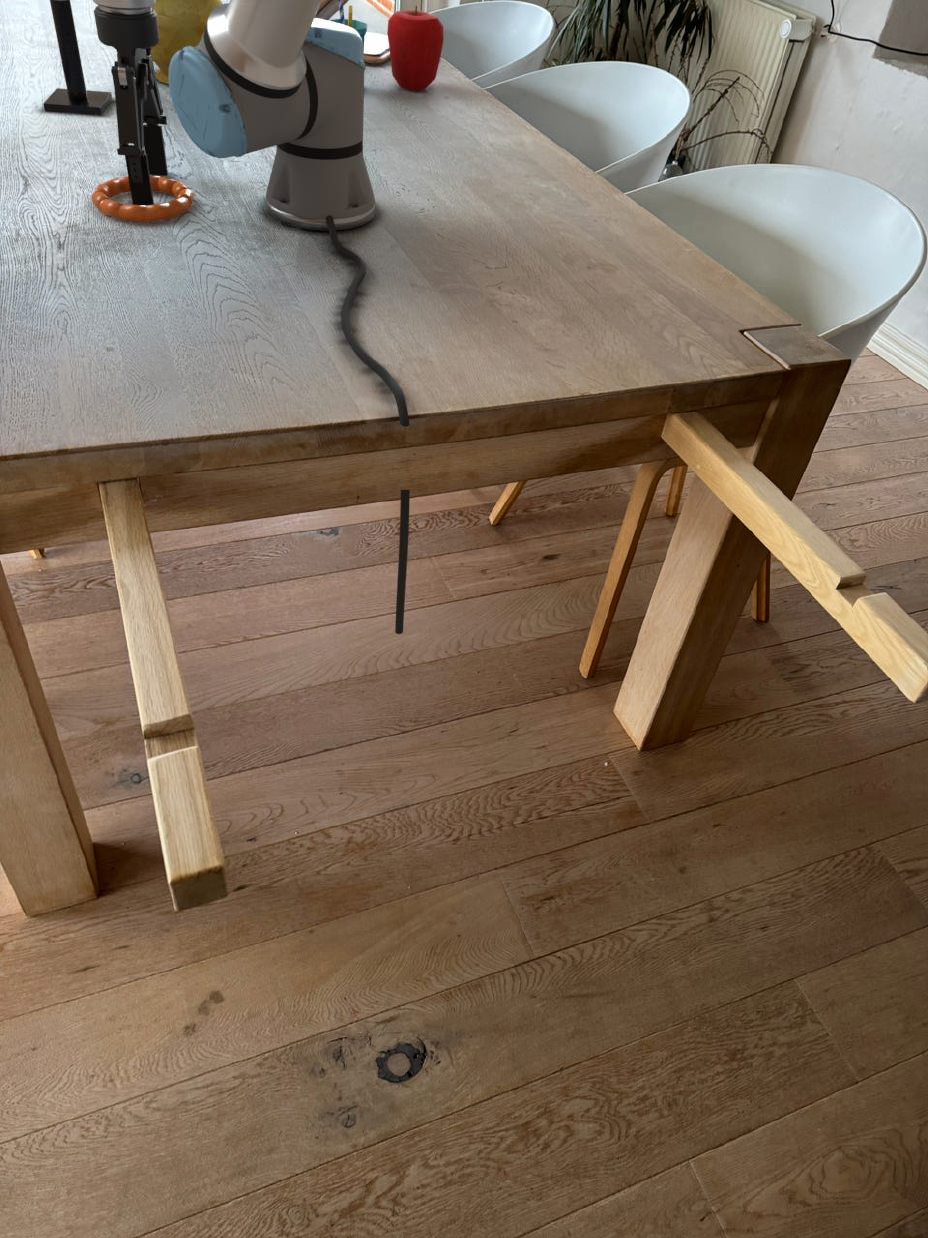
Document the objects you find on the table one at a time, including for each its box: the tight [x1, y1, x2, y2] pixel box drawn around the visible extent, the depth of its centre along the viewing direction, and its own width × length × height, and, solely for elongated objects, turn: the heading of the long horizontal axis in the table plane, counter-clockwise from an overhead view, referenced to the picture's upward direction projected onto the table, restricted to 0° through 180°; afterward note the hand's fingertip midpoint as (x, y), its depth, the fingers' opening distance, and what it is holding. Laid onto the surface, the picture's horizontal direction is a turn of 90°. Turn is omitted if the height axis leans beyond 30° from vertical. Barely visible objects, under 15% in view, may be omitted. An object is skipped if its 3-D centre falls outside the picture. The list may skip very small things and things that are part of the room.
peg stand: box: [42, 0, 113, 116], centre depth 148 cm, size 9×9×15 cm
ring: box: [91, 175, 195, 223], centre depth 125 cm, size 13×13×2 cm
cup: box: [328, 0, 368, 55], centre depth 169 cm, size 14×8×15 cm, turn 24°
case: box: [315, 0, 390, 64], centre depth 190 cm, size 20×21×16 cm
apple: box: [386, 5, 445, 92], centre depth 174 cm, size 11×10×14 cm
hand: (151, 189), depth 129 cm, fingers open, 11 cm apart
